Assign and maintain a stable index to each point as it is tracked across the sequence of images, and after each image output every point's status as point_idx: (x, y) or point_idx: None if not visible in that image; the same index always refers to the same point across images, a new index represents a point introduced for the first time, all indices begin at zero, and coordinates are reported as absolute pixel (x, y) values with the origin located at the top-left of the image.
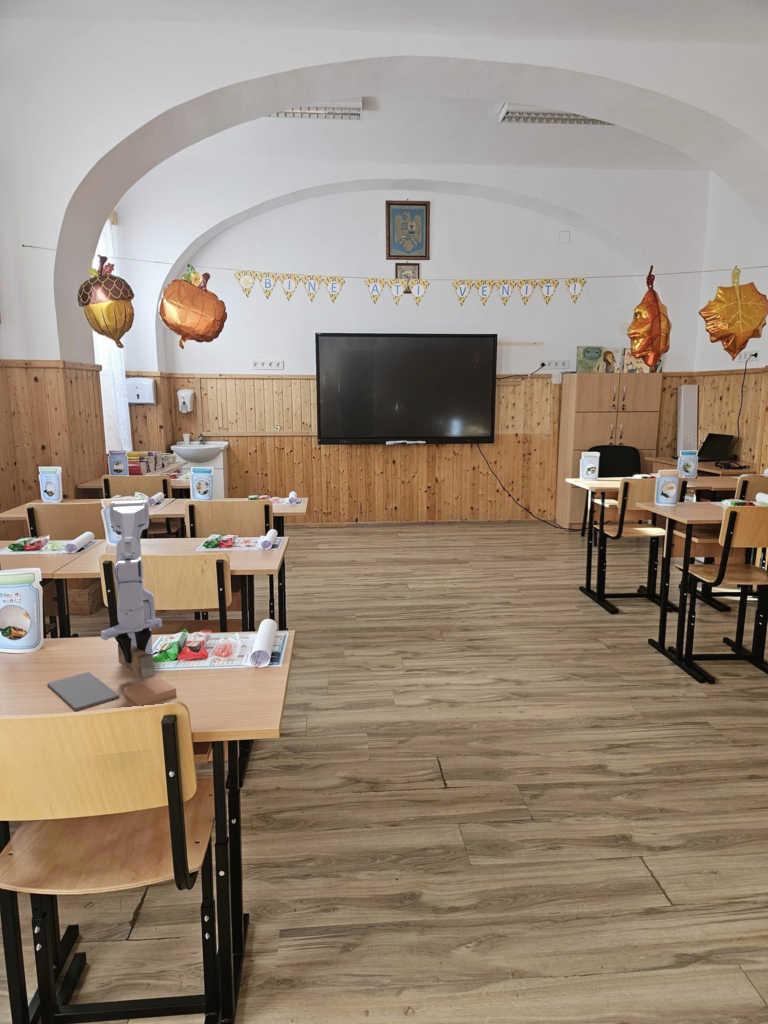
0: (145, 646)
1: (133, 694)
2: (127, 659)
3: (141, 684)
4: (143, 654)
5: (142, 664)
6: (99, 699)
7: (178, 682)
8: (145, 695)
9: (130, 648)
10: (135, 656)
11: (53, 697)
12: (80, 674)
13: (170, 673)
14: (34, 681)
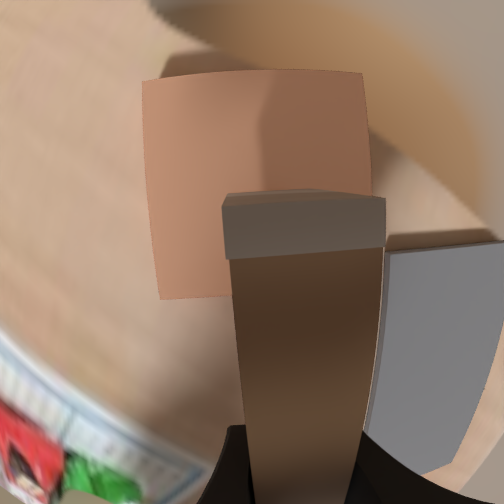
0: (208, 502)
1: (366, 157)
2: None
3: None
4: (292, 372)
5: (355, 194)
6: (454, 264)
7: (87, 251)
8: (320, 96)
9: (380, 492)
10: (362, 389)
11: None
12: None
13: (97, 372)
14: (441, 483)
